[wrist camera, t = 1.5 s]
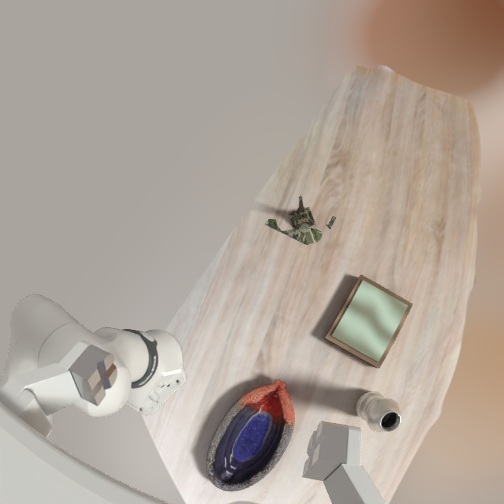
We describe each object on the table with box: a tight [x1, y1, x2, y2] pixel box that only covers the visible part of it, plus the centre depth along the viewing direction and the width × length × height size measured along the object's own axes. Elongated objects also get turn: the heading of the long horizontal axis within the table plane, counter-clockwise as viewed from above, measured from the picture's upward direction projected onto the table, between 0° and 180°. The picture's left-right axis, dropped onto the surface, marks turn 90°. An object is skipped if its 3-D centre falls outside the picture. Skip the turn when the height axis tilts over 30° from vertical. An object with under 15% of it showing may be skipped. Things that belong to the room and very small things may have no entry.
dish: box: [206, 380, 295, 491], centre depth 61 cm, size 16×31×5 cm, turn 150°
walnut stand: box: [325, 275, 413, 368], centre depth 65 cm, size 16×14×3 cm
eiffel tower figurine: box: [266, 194, 336, 245], centre depth 71 cm, size 15×10×13 cm
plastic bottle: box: [356, 392, 401, 432], centre depth 51 cm, size 6×7×20 cm
